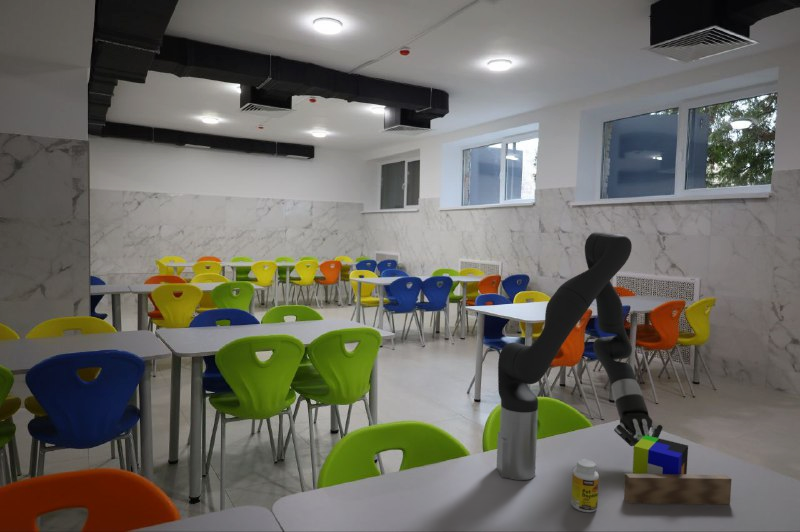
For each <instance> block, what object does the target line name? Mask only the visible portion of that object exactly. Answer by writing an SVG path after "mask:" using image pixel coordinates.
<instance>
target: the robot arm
mask: <svg viewBox="0 0 800 532" xmlns="http://www.w3.org/2000/svg"><path fill="white" fill-rule="evenodd" d="M631 252H632V242H631V239H630V238H629V237H627V236H626V235H623V234H618V233H611V232H601V231H595V232H594V231H593V232H592V233H591V234H589V235H588V237H587V238H586V240H585V243H584V257H585V262H586V264H587V270H585V271H583V272H581V273H579V274H577V275H576V276H573V277H571V278H570V279H568V280H566V281H565V282H563V283H562V284H561V285H560V286H559V287H558V288H557V290H556V291H555V292H554V293H553V295H552V296H551V297H550V299H549V301H548V302H547V304H546V307H545V315H544V316H545V317H544V326H543V329H542V332H541V333H540V334H539V336H538V337H537V338H536V340H535V341H534V342H533V343H532V344H531V345H527V344H524V343H519V342H510V343H507V344H506V345H504V346H503V348H502V349H501V351H500V353H499V357H498V363H497V364H498V365H497V383H498V384H497V387H498V389H497V391H498V395H499V397H500V425H499V427H500V428H499V431H497V445H496V446H497V448H496V468H497V471H498V473H499V474H500V477H501V478H507V479H511V480H515V481H528V480H531V479H533V478H534V477H536V468H537V467H536V462H537V461H536V460H537V459H536V458H537V441H538V440H537V439H538V438H537V437H538V436H537V435H538V415H539V414H538V413H539V399H538V397H537V395H536V394H535V393H534V392H533V391H532V390H531V388H530V387H529V385H534V384H536V383H538V382H539V381H540V380H542V379H543V377H544V376H545V374H546V373H547V371H548V370H549V368H550V366H551V364H552V363H553V361H554V359H555V358H556V356H557V354H558V353H559V351H560V348H561V347H562V346H563V344H564V343H565V342H566V340H567V338H568V337H569V335H570V334H571V333H572V331H573V330H574V328H575V327H576V325H577V324H578V323H579V322H580V320H581V319H582V318H583V317H584V315H585V314H586V312H587V311H588V309H589V308H590V306H591V305H592V304H593V302H594V301H595V302H596V311H597V314H596V315H597V325H598V329H599V331H600V332H602V333H603V334H604V333H605V334H611V335H612V336H602V337H598V338H596V339H594V341H593V348H592V349H593V352H594V355H595V356H596V358H597V360H598V361H599V363H600V364H601V365H602V367H603V368H604V370H605V372H606V374H607V377H608V380H609V383H610V387H611V392H612V398H613V400H614V403H615V407H616V410H617V414H618V416H619V419H620V420H619V424H617V426H615V428H614V432H615V433H616V434H617V435H618V436H619V437H620V438H621V439H622V440H623V441H624V442H625V443H627V445H629V446H630V447H634V445H636V444H637V443H638V442H639V441H640V440H641V439H642V438H643V437H644V436H645V435H647V436H650V429H651V437H656V438H659V437H660V434H661V433H662V431H663V426H662V424H656V423H654V422H653V419H652V418H651V417H650V415H649V411H648V407H647V404H646V401H645V398H644V396H643V393H642V392H643V391H642V390H641V388H640V385H639V383H638V381H637V378H636V375H635V372H634V370H633V367H632V366H631V364H630V363H628V362H625V361H624V362H623V361H617V360H625V359H628V358H629V357H630V356H631V355H632V352H633V347H632V345H631V341H630V339H629V337H628V334H627V332H626V328H625V323H624V321H625V319H624V308H623V303H622V300H621V297H620V295H619V294H618V291H617V290H616V288H615V287H614V286H613V283H612V282H611V280H612V279H613V277H615V276H616V275H617V274H618V272H619V271H621V269H622V268H623V267H624V266H625V264H626V263H627V261H628V260H629V258H630V256H631Z"/></svg>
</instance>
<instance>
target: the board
mask: <svg viewBox="0 0 800 532" xmlns="http://www.w3.org/2000/svg"><path fill="white" fill-rule="evenodd" d="M731 492H732V478H731V477H730V476H729V475H727V474H691V473H690V474H688V473H687V474H633V473H625V475H624V492H623V493H624V494H623V500H625V502H626V503H628V504H670V505H671V504H673V505H674V504H681V505H682V504H684V505H685V504H687V505H688V504H689V505H691V504H692V505H697V504H698V505H730V504H731V496H732V495H731Z"/></svg>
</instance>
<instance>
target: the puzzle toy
mask: <svg viewBox="0 0 800 532" xmlns="http://www.w3.org/2000/svg"><path fill="white" fill-rule="evenodd" d="M651 436H652V435H651ZM651 436H650V435H649V436H647V435H645V436H644V437H643V438H642V439H641V440H640V441H639V442H638V443H637V444H636V445H634V446H633V457H632V458H633V459H632V460H633V461H632V474H688V472H687V471H688V458H689V457H688V453H689V445H687V444H684V443H680V442H677V441H676V442H675V441H673V440H672V441H671V440H667V439H663V438H659V437H658V438H656V437H651Z"/></svg>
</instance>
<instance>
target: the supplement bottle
mask: <svg viewBox="0 0 800 532" xmlns="http://www.w3.org/2000/svg"><path fill="white" fill-rule="evenodd" d="M596 470H597V466H596V463H595V462H594V461H592V460H589V459H583V458H582V459H578V460H577V461H576V467H575V468H574V469H573V470H572V485H571V498H570V500H571V501H570V502H571V506H572V507H573V508H574V509H576V510H577V511H580V512H583V513H593V512H595V511H596V510H597V508H598V498H599V479H600V474H599V472H598V471H596Z"/></svg>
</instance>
